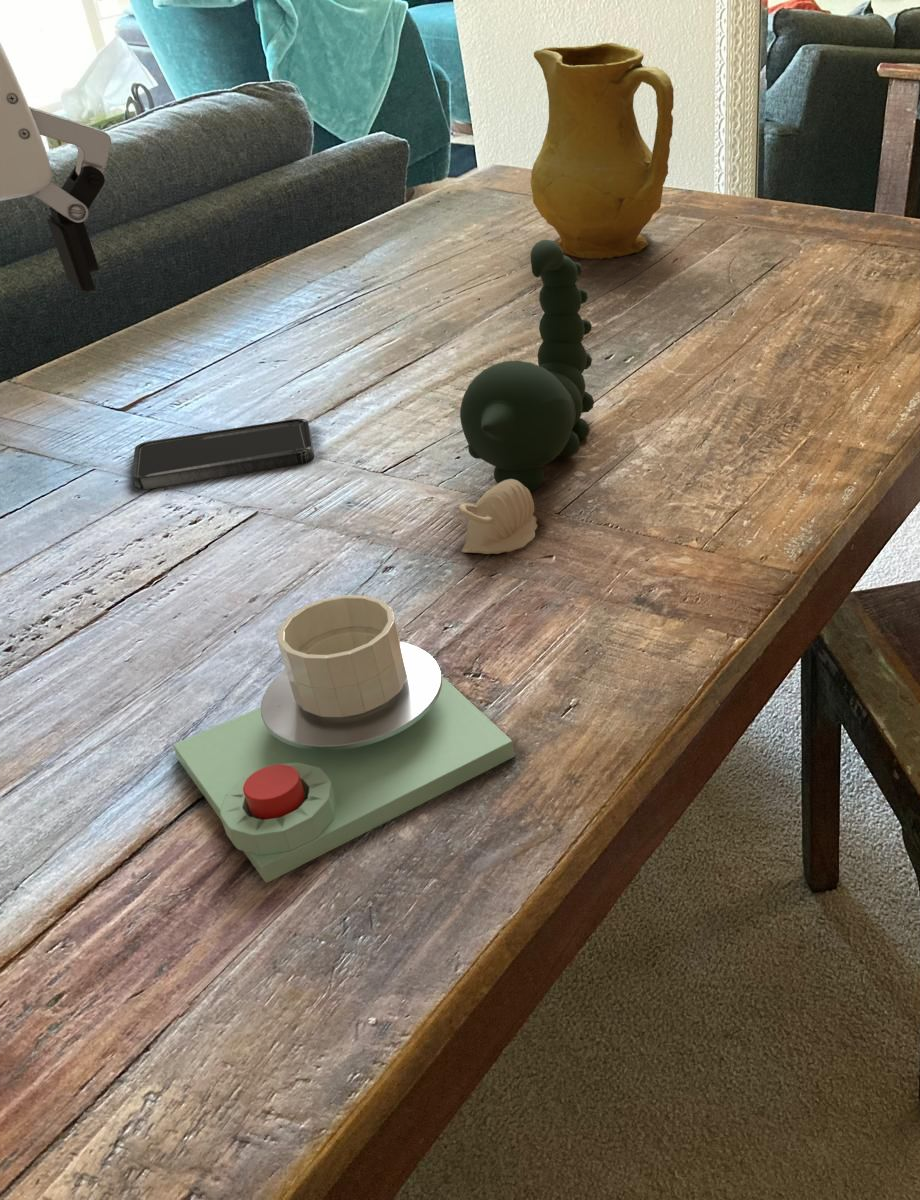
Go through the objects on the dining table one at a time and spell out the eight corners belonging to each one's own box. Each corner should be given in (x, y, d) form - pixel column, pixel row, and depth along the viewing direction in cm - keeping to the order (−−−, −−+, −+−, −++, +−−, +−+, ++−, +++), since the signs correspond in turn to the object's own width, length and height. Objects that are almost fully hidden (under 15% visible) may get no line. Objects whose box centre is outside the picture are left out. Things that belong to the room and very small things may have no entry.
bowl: (324, 738, 72) (305, 672, 70) (279, 687, 76) (259, 623, 74) (427, 691, 76) (413, 627, 73) (378, 645, 80) (363, 582, 78)
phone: (312, 450, 109) (130, 479, 104) (315, 462, 110) (134, 491, 105) (307, 416, 115) (135, 442, 110) (309, 427, 116) (139, 453, 111)
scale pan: (306, 776, 70) (304, 771, 70) (234, 690, 77) (233, 685, 77) (473, 698, 76) (472, 693, 76) (394, 624, 83) (392, 620, 83)
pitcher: (616, 215, 174) (601, 28, 159) (696, 252, 163) (689, 55, 148) (513, 243, 164) (487, 47, 149) (591, 284, 154) (572, 78, 138)
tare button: (262, 827, 67) (255, 807, 66) (241, 800, 69) (234, 780, 68) (313, 803, 69) (307, 782, 68) (292, 776, 71) (286, 756, 70)
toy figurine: (531, 417, 122) (441, 519, 100) (512, 226, 113) (408, 292, 91) (622, 422, 121) (551, 525, 99) (610, 229, 112) (529, 297, 90)
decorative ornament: (553, 527, 100) (545, 470, 97) (484, 574, 94) (474, 514, 91) (515, 515, 102) (507, 459, 99) (446, 560, 96) (435, 501, 93)
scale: (258, 889, 67) (244, 850, 65) (171, 764, 75) (157, 727, 74) (515, 757, 76) (509, 721, 74) (411, 660, 85) (404, 625, 83)
